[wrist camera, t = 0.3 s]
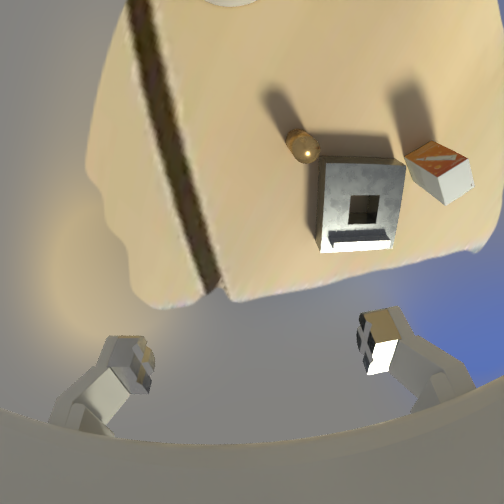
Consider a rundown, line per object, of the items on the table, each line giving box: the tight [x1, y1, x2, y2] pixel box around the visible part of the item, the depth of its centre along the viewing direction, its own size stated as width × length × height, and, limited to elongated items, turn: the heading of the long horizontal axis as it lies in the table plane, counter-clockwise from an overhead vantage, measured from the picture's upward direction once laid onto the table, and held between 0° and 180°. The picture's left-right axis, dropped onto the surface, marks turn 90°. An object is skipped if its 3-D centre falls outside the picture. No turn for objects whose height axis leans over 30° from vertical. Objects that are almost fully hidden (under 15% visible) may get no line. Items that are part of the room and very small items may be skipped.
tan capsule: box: [286, 129, 320, 164], centre depth 47 cm, size 4×4×8 cm
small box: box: [404, 141, 475, 206], centre depth 47 cm, size 8×6×13 cm
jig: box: [315, 156, 406, 253], centre depth 54 cm, size 18×16×7 cm
